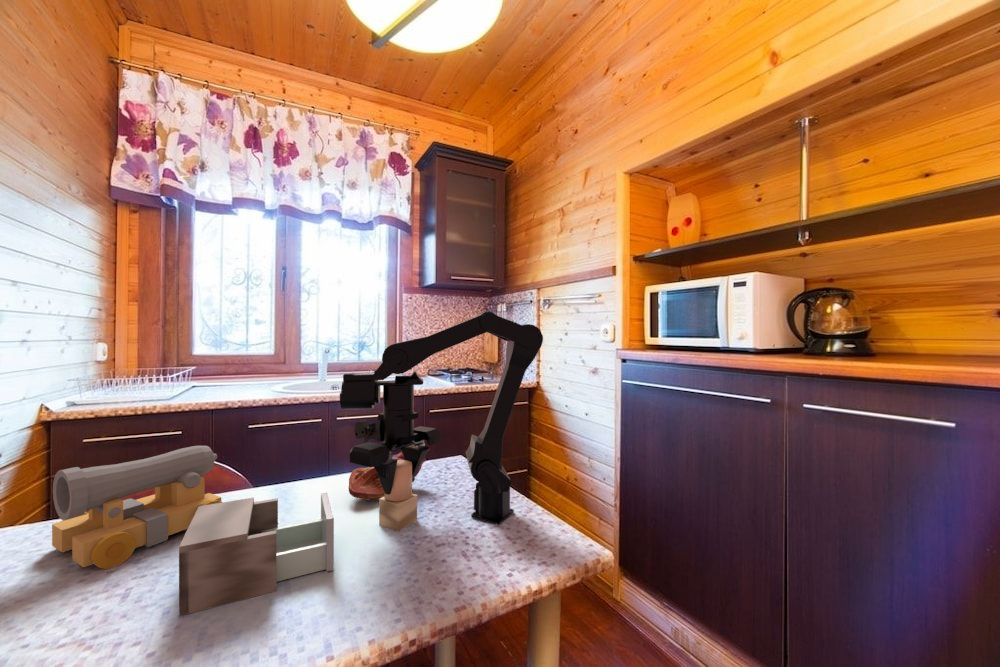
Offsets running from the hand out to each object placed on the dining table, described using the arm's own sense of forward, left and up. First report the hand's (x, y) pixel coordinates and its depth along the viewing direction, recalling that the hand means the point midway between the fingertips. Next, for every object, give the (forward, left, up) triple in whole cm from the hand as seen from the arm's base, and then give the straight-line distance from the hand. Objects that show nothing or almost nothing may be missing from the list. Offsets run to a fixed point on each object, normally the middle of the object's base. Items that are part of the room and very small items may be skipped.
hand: (398, 488), depth 78 cm
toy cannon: (+36, +26, -7) cm, 45 cm away
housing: (+9, +25, -6) cm, 27 cm away
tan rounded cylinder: (0, 0, -1) cm, 1 cm away
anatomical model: (+13, -9, -7) cm, 17 cm away
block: (0, 0, -6) cm, 6 cm away
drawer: (+5, +18, -6) cm, 19 cm away
